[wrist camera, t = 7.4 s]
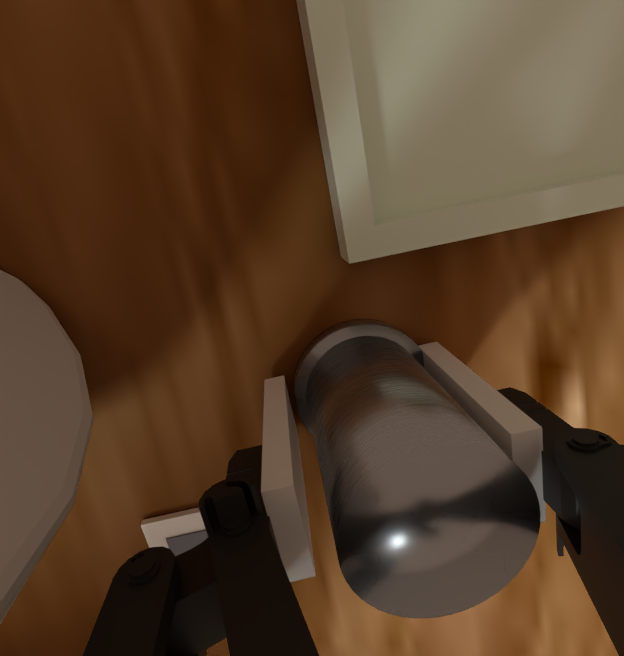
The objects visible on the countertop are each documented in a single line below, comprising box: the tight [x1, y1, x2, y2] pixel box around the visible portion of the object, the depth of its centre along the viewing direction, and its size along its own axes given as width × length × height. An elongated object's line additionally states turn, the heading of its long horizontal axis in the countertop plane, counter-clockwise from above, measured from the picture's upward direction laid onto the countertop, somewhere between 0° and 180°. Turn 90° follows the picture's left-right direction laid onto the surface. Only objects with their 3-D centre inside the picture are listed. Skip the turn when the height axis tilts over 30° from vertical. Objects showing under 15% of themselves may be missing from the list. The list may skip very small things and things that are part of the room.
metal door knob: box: [294, 319, 541, 618], centre depth 13 cm, size 5×5×8 cm
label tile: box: [140, 507, 208, 556], centre depth 18 cm, size 6×4×1 cm, turn 101°
